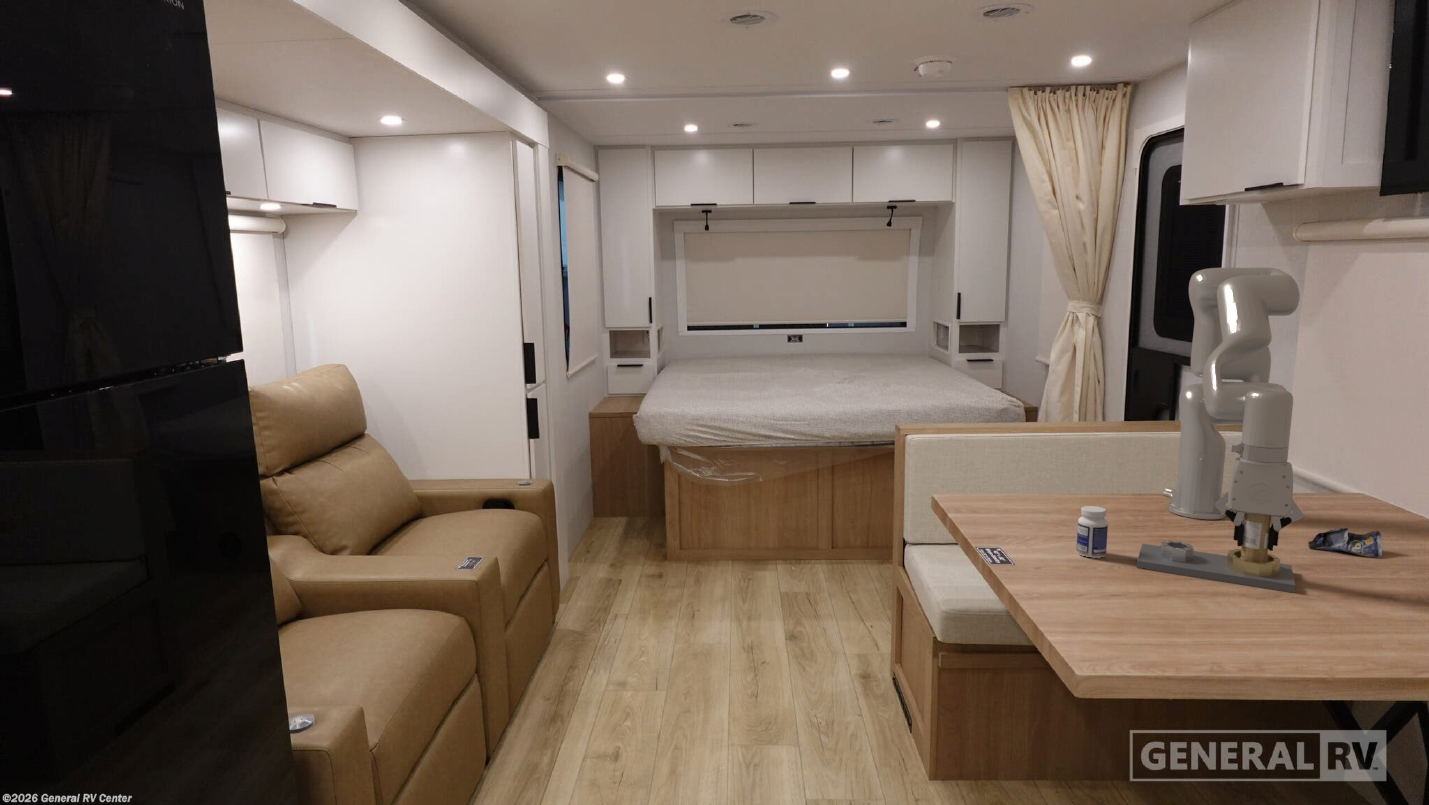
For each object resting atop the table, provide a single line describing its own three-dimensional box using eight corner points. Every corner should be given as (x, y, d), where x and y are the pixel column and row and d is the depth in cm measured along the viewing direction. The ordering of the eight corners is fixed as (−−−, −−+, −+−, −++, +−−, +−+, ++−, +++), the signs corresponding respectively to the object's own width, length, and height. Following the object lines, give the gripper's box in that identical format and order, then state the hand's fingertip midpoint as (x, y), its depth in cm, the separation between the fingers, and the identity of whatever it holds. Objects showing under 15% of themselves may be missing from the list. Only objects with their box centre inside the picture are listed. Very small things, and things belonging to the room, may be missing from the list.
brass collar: (1216, 565, 162) (1217, 553, 162) (1245, 558, 166) (1246, 546, 165) (1260, 579, 155) (1261, 567, 154) (1289, 572, 158) (1290, 560, 158)
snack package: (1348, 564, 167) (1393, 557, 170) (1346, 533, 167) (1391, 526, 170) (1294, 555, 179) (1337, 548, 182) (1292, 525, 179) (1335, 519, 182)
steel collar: (1154, 555, 168) (1155, 543, 168) (1172, 551, 171) (1173, 539, 170) (1179, 563, 163) (1180, 551, 163) (1198, 559, 166) (1199, 547, 165)
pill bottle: (1106, 552, 175) (1109, 506, 173) (1106, 560, 170) (1109, 514, 168) (1076, 548, 177) (1079, 503, 176) (1075, 557, 172) (1078, 510, 170)
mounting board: (1136, 567, 166) (1137, 560, 165) (1142, 550, 176) (1142, 543, 175) (1294, 593, 152) (1295, 585, 152) (1290, 572, 162) (1291, 565, 162)
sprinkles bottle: (1273, 565, 158) (1280, 497, 156) (1251, 567, 157) (1258, 498, 155) (1254, 557, 162) (1261, 491, 160) (1233, 558, 162) (1239, 492, 160)
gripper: (1211, 453, 158) (1203, 545, 161) (1320, 462, 149) (1309, 560, 152) (1212, 445, 164) (1204, 534, 167) (1316, 454, 155) (1306, 548, 158)
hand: (1254, 545), depth 159 cm, fingers closed on sprinkles bottle, 4 cm apart
